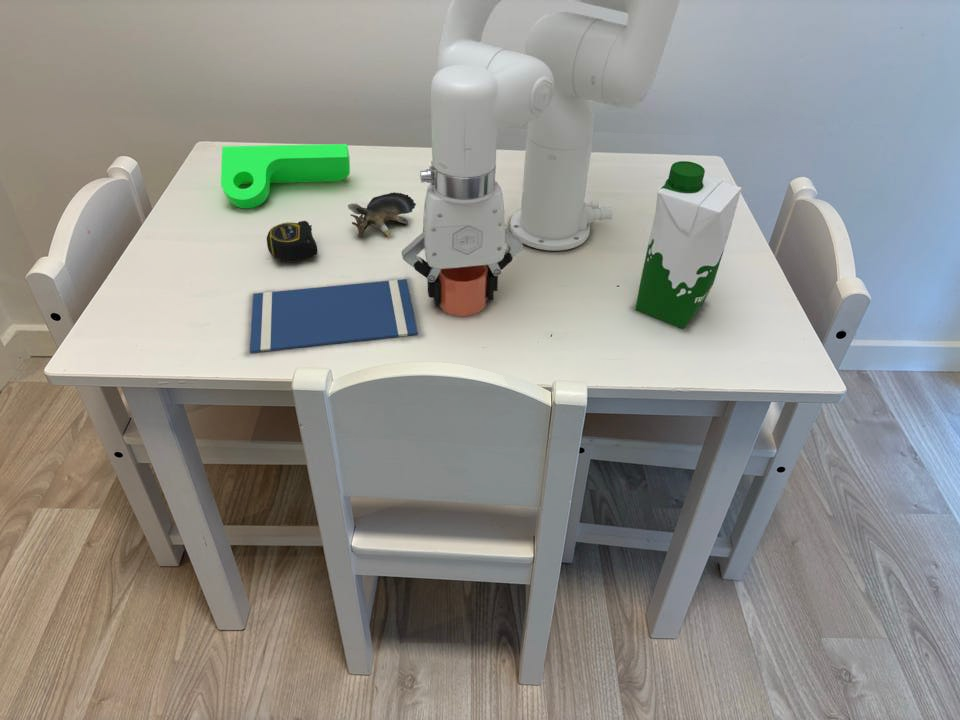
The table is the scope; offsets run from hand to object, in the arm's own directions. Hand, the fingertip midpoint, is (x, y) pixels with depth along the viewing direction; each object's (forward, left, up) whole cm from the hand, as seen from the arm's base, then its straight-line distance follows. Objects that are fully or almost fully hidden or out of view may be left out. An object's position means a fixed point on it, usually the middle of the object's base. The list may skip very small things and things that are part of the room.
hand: (462, 296), depth 94 cm
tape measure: (+22, -16, -1) cm, 27 cm away
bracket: (+23, -34, -1) cm, 41 cm away
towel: (+17, 0, -1) cm, 18 cm away
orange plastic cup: (0, 0, -1) cm, 1 cm away
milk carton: (-28, +6, -1) cm, 29 cm away
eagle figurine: (+9, -20, -1) cm, 22 cm away
